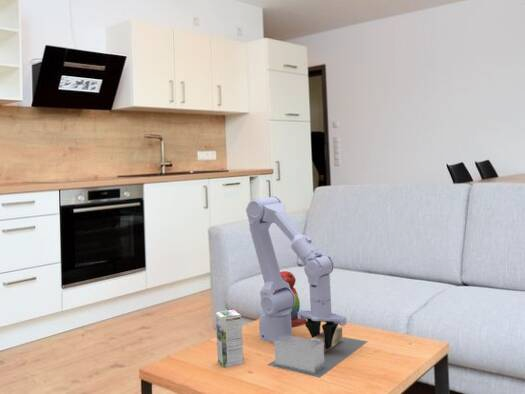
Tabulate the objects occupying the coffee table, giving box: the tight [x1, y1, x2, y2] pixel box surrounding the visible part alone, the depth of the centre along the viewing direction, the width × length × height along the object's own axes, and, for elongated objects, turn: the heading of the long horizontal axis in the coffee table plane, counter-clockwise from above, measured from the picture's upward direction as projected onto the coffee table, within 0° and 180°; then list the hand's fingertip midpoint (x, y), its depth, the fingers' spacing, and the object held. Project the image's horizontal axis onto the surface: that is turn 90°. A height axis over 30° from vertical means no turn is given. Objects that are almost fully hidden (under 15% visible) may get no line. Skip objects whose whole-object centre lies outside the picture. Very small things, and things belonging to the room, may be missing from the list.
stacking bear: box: [274, 270, 307, 328], centre depth 170 cm, size 11×10×18 cm
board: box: [267, 336, 368, 378], centre depth 140 cm, size 16×28×1 cm, turn 144°
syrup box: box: [215, 309, 244, 369], centre depth 137 cm, size 6×6×14 cm
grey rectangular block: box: [273, 335, 325, 374], centre depth 131 cm, size 12×5×7 cm, turn 54°
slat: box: [310, 325, 343, 353], centre depth 141 cm, size 18×3×4 cm, turn 144°
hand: (322, 346), depth 141 cm, fingers closed on slat, 3 cm apart
